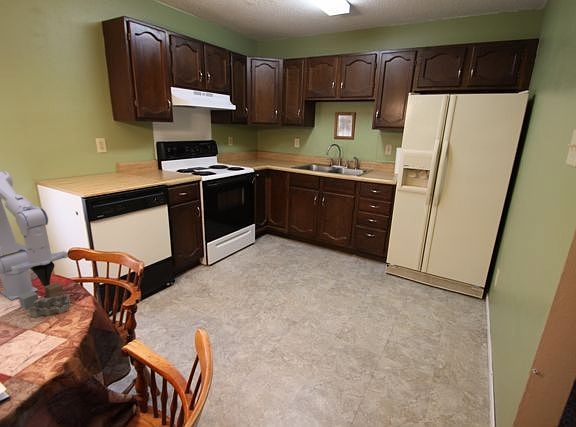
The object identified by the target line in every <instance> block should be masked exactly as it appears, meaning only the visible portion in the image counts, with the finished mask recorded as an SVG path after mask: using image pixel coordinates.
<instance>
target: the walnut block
mask: <svg viewBox="0 0 576 427" xmlns="http://www.w3.org/2000/svg"><path fill="white" fill-rule="evenodd" d="M43 288H44V293H45V297H46V298H50V297H55V296H58V297H59V296H63V295H65V292H64V287H63V284H61V283H60V282H58V281H55V282H52V283H50V285H48V286H43Z"/></svg>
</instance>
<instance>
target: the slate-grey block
mask: <svg viewBox="0 0 576 427" xmlns="http://www.w3.org/2000/svg"><path fill="white" fill-rule="evenodd" d="M18 297H19V298H18V301H19V304H20V307H22V308H23V309H24V310H28V308H31V305H32V304H33V303H34V302H35V301H36V300H38V299H40V297H39V294H38V292H36V291H35V292H34V291H30V292H27V293H24V294H21V295H19V296H18Z"/></svg>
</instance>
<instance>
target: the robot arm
mask: <svg viewBox="0 0 576 427" xmlns="http://www.w3.org/2000/svg"><path fill="white" fill-rule="evenodd" d="M2 200H3V201H5V202H4V205H3V201H2ZM5 208H6V209H7V211H9V213H11V214H12V216H14V219H15V222H16V225H17V227H18V229H19V233H20V235H21V236H23V241H24V244H23V243H19V242H17V240H16V238H15V235H14V232H13V230H12V226H11V224H10V221H9V218H8V216H7V212H6V210H5ZM48 224H49V216H48V213H47V212H46V210H45V209H44V208H43V207H40V206H35V205H34V204H32V202H31V201H30V200H29V199H28V198H27V197H26V196H24V195H21V194H18V193H17V192H16V190H15V189H14V187H13V178H12V176H11V174H10V173H9V172H8V171H5V170H2V171H0V281H1V283H2V284H1V285H2V288H3V290H1V291H0V294H2V295H4V296H5V297H6V298H7V299H9V300H10V301H12V300H16V299H19V297H18V296H19V295H21V294H24V293H27V292H30V291H34V292H35V293H36V292H38V290H39V289H38V288H36V287H35V286H33V284H32V279H31V275H30V270H31V272H33V273H34V274H35V276H37V278H38V279H39V281H40V283H41V286H43V287H44V286H48V285H50V284H51V277H52V274H53V271H54V268H55V266H56V264H55V263H54V262H55V261H59V260H63V259H67V258H69V256H68V252H67V251H65V250H63V251H60V252H59V251H58V252H54V253H51V251H52V250H51V247H50V243H49V242H50V241H49V237H48V232H47V227H46V226H48Z"/></svg>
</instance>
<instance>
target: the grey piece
mask: <svg viewBox="0 0 576 427" xmlns="http://www.w3.org/2000/svg"><path fill="white" fill-rule="evenodd" d="M70 305H71V300H70V293H67V294H64V295H61V296H59V297H58V296H55V297H50V298H49V297H39V299H38V300H36V301H35V302H34V303H33V304H32V305H31V308H28V309H27V311H28V312H29V317H30V318H33V319H37V318H39V317H41V316H46V317H49V316H51V315H53V314H55V313H56V314H57V313H58V314H63V313H64V312H67V311H68V310H69V306H70ZM49 307H51V308H49ZM48 308H49V309H48Z"/></svg>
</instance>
